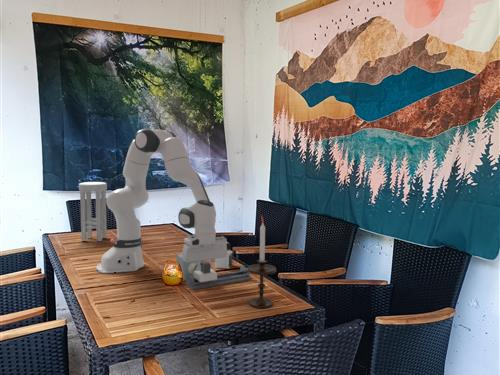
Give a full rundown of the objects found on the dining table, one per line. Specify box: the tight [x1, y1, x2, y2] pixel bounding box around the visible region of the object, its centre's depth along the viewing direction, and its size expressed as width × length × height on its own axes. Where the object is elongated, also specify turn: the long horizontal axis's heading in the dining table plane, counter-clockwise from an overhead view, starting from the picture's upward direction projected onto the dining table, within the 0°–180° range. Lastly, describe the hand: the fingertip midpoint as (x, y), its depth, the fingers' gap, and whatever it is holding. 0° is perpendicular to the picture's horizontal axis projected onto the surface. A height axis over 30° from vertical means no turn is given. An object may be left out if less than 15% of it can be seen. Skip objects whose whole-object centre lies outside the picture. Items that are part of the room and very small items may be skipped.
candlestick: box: [247, 215, 277, 310], centre depth 168 cm, size 11×11×35 cm
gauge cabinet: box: [176, 253, 205, 282], centre depth 201 cm, size 10×9×10 cm
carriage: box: [194, 260, 218, 282], centre depth 191 cm, size 8×7×7 cm
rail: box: [185, 265, 251, 291], centre depth 195 cm, size 28×8×4 cm, turn 120°
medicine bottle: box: [214, 241, 234, 270], centre depth 218 cm, size 7×7×12 cm
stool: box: [78, 181, 108, 242], centre depth 268 cm, size 16×16×35 cm
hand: (205, 269), depth 191 cm, fingers closed on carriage, 3 cm apart
